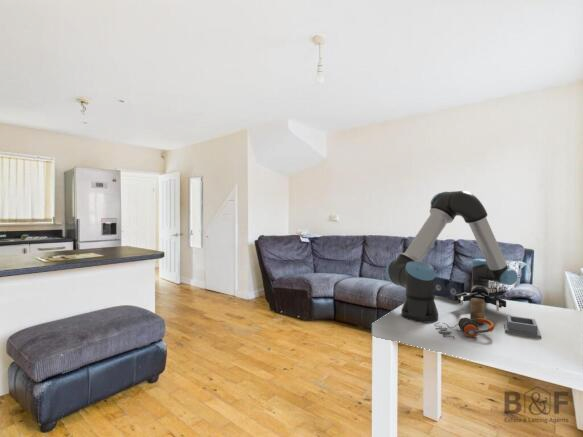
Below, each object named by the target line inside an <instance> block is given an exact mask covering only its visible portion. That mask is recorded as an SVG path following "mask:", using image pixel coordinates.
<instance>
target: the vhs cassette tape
mask: <svg viewBox="0 0 583 437" xmlns="http://www.w3.org/2000/svg"><path fill="white" fill-rule="evenodd" d="M463 292H465V282H462V281H457V280H452V279H449V278H446V277H445V278H444V277H440V276H436V275H435V279H434V296H437V297H440V298H444V299H448V300H451V301H455V300H454V296H455V295H457V294H461V293H463Z"/></svg>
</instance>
